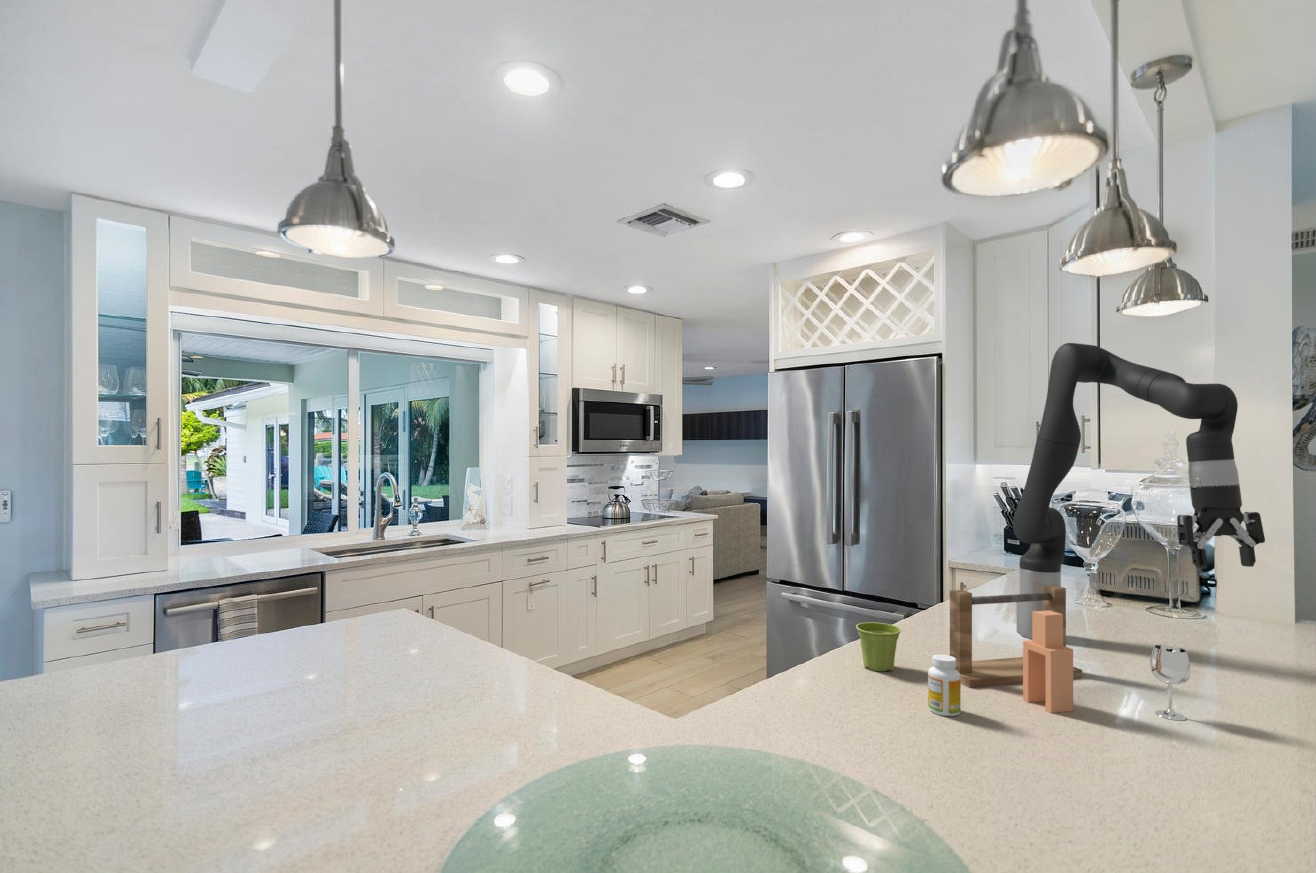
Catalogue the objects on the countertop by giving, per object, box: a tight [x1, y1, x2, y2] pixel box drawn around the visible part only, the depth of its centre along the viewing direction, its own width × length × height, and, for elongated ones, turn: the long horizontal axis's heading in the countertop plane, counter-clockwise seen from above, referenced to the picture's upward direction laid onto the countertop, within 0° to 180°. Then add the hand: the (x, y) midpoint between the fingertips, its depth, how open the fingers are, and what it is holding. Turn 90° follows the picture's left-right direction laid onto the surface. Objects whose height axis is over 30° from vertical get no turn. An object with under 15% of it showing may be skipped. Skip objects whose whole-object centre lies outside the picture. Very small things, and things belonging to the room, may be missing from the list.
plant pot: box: [855, 621, 902, 673], centre depth 143 cm, size 9×9×9 cm
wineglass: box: [1149, 644, 1192, 721], centre depth 118 cm, size 6×6×12 cm
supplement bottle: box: [927, 654, 962, 717], centre depth 119 cm, size 5×5×10 cm
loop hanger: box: [1022, 610, 1074, 714], centre depth 122 cm, size 6×5×17 cm
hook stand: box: [949, 585, 1083, 689], centre depth 139 cm, size 10×28×18 cm, turn 104°
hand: (1224, 567), depth 127 cm, fingers open, 8 cm apart
